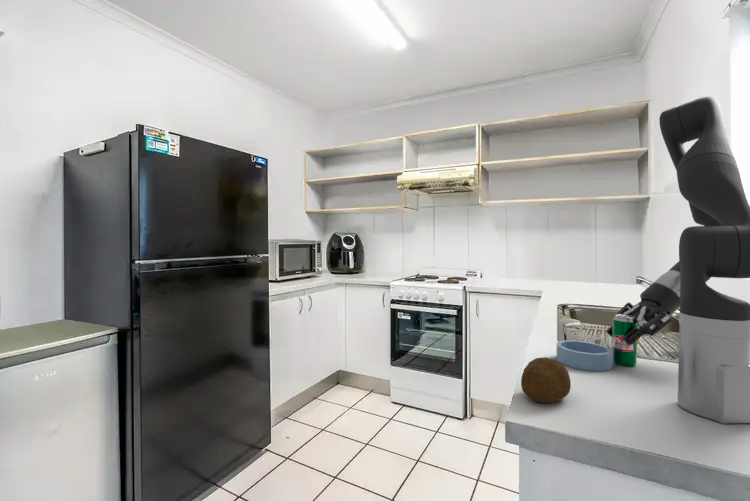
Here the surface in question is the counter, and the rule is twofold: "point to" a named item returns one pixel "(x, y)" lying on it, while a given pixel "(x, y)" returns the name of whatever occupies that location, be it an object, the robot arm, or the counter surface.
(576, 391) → the counter surface
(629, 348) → the soda can
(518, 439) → the counter surface
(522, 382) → the potato
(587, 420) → the counter surface
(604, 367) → the bowl
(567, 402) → the counter surface
